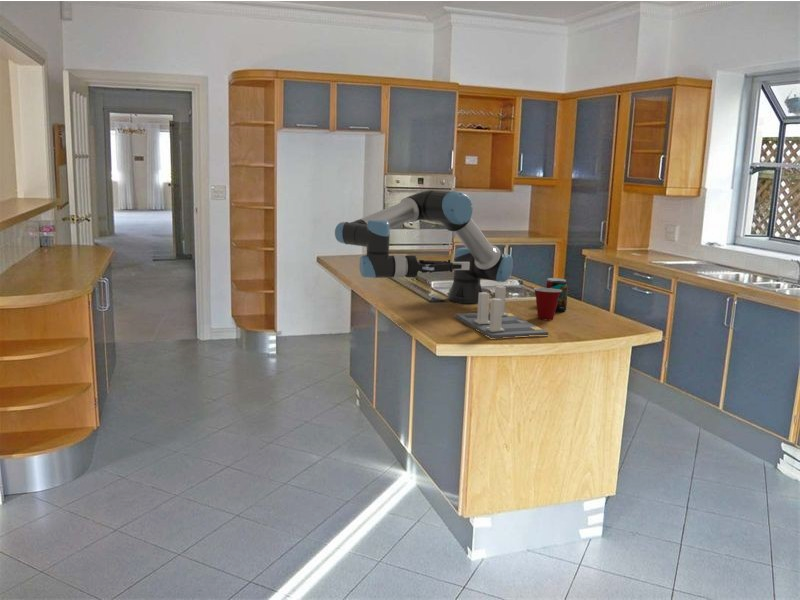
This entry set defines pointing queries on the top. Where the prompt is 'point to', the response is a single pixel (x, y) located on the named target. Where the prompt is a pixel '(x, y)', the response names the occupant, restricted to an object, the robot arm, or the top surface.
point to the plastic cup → (546, 302)
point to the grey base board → (503, 326)
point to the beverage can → (561, 295)
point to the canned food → (550, 280)
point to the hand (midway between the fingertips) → (468, 265)
